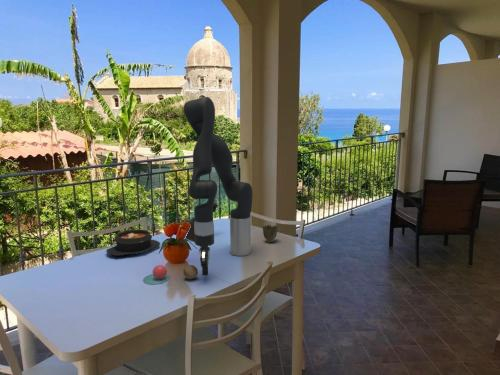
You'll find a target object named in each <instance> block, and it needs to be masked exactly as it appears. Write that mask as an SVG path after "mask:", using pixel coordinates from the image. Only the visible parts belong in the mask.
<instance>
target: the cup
mask: <svg viewBox="0 0 500 375" xmlns="http://www.w3.org/2000/svg"><path fill="white" fill-rule="evenodd" d="M262 233H263V237H264V239H266V243H268V242H269V244H270V243H271V244H272V243H274V240H275V239H277V234H278V226H277V225H273V226H272V225H271V224H267V225H263V226H262Z"/></svg>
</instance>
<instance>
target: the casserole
mask: <svg viewBox="0 0 500 375" xmlns="http://www.w3.org/2000/svg"><path fill="white" fill-rule="evenodd" d="M152 238H153V236H152V235H151V233H150V231H149V230H147V229H129V230H125V231H121V232H119V233H117V234H116V236H115V238H114V243H115V244H116V245H114V246H111V247H109V248H107V249H106V251H105V252H106V253H107V254H109V255H111V256H118V257H120V256H126V255H128V256H129V255H130V256H131V255H133V256H134V255H139V254H143V253H145V252H149V251H150V250H152V249H154V248H156V247H159V246H160V245H161V242H160V241H158V240H156V239H152Z"/></svg>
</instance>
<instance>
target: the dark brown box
mask: <svg viewBox="0 0 500 375" xmlns="http://www.w3.org/2000/svg"><path fill="white" fill-rule="evenodd" d="M218 207H219V205H218V203H216V202H214V205H213V213H217V208H218ZM184 221H186V222H189V223H190V224H191V228H190V230H189V232H188V234H187V236H186V238H187V239H186V238H185V239H186V240H189V241H191V242H194V243H195V239H194V223H195V217H192V218H190V219H185V220H183V222H184Z"/></svg>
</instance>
